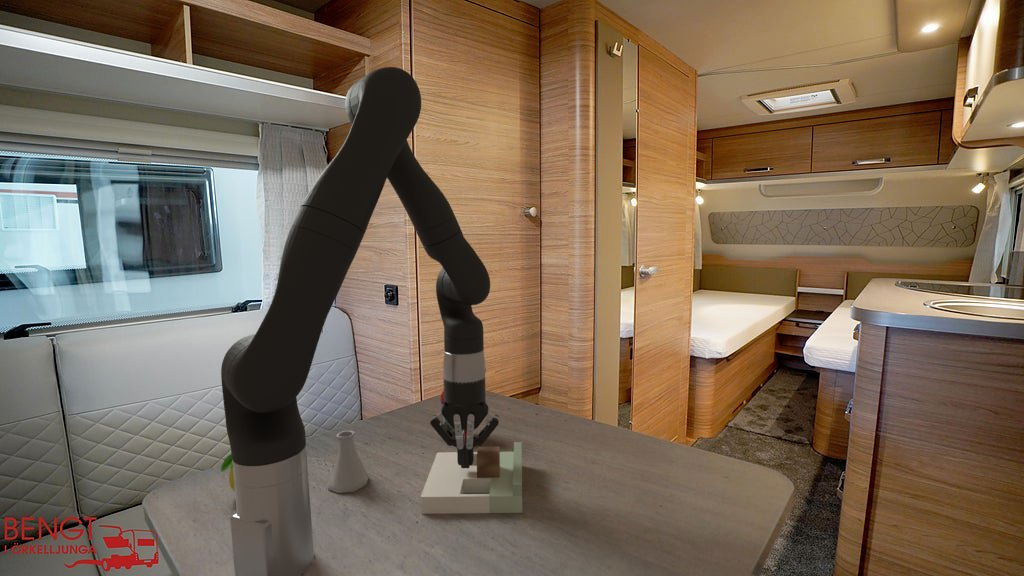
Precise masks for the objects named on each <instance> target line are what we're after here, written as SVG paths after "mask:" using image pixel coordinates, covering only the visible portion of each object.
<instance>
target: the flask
mask: <svg viewBox="0 0 1024 576" xmlns="http://www.w3.org/2000/svg"><path fill="white" fill-rule="evenodd" d="M355 435H356V431H354V430H342V431H340V432H338V433H337V434H336V440H337V441H338V450H337V456H336V460H335V464H334V468H333V469H332V473H331V477H330V480H329V484H328V487H327V490H329V491H332V492H333V493H337V494H344V493H345V494H346V493H355V492H356V491H358V490H359V489H360V490H361V489H362V488H364V487H365V486H366V485H367V484H368V482H369V478H370V477H369V474H368V472H367V471H366V469H365V466H364V465H363V462H362V461H361V459H360V456H359V454H358V452H357V449H356V445H355V440H354V439H355V438H354V437H355Z"/></svg>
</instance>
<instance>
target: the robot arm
mask: <svg viewBox="0 0 1024 576" xmlns="http://www.w3.org/2000/svg"><path fill="white" fill-rule="evenodd" d="M421 95H422V94H421V91H420V88H419V85H418V84H417V82H416V80H415V78H414V77H413V76H412V75H411V74H410V73H409V72H408V71H406V70H404V69H402V68H399V67H395V66H385V67H381V68H378V69H375V70H373V71H371V72H369V73H368V74H366V75H364V76H363V77H362V78H361V79H359V80H357V81H356V82H355V83H352V85H351V86H350V87H349V89H348V90H347V93H346V95H345V102H344V105H345V112H346V115H347V118H348V120H349V121H350V124H351V127H350V130H349V133H348V134H347V137H346V138H345V141H343V144H342V146H341V147H340V149H339V150H338V152H337V153H336V155H335V156H334V158H332V160H331V161H330V162H329V164H328V165H327V166H326V167H325V169H324V170H323V171H322V173H321V174H320V175H319V176H318V178H317V179H316V181H314V184H313V185H312V186H311V188H310V189H309V191H308V192H307V194H306V196H305V198H304V199H303V201H302V203H301V205H300V207H299V210H298V212H297V214H296V216H295V218H294V220H293V223H292V224H291V227H290V229H289V232H288V234H287V238H286V240H285V243H284V248H283V250H282V255H281V260H280V261H281V262H280V266H279V271H278V276H277V277H278V278H277V283H276V287H275V288H276V289H275V292H274V295H273V299H272V301H271V303H270V305H269V307H268V310H267V312H266V314H265V316H264V317H263V319H262V320H261V323H260V325H259V327H258V329H257V330H256V332H255V334H249V335H246V336H243V337H242V338H240V339H239V340H237V341H236V342H235V343H233V344H232V345H231V346H230V347H229V348H228V349H227V351H226V353H225V355H224V357H223V359H222V363H221V369H220V371H221V372H220V375H221V377H220V378H221V379H220V380H221V391H222V398H223V399H222V400H223V407H224V417H225V427H226V432H227V433H226V434H227V439H228V441H229V445H230V453H231V454H230V455H232V464H233V475H234V488H235V492H234V496H235V497H234V498H235V509H236V513H234V514H233V515H231V516H230V518H229V521H230V533H231V544H232V545H231V546H232V555H233V565H234V566H233V567H234V568H233V569H234V576H302V575H303V574H304V573H306V572H307V571H308V569H309V568H310V567H311V566H312V564H313V563H314V559H315V550H314V536H313V524H312V511H311V510H312V509H311V497H310V483H309V470H308V469H309V468H308V467H309V466H308V453H307V452H308V451H307V442H306V441H307V436H306V428H305V424H304V422H303V420H302V417H301V414H300V410H299V406H298V399H297V398H298V396H299V394H300V393H301V391H302V390H303V389H304V386H305V384H306V382H307V380H308V377H309V374H310V370H311V367H312V364H313V360H314V356H315V353H316V350H317V347H318V344H319V341H320V338H321V334H322V332H323V328H324V325H325V323H326V320H327V318H328V315H329V312H331V309H332V307H333V305H334V302H335V301H336V299H337V296H338V294H339V292H340V289H341V287H342V285H343V282H345V281H344V280H345V278H346V276H347V274H348V271H349V270H350V267H351V265H352V263H353V261H354V259H355V257H356V254H357V253H358V250H359V248H360V246H361V243H362V241H363V238H364V237H365V235H366V231H367V229H368V225H369V224H370V220H371V219H372V215H373V213H374V211H375V209H376V206H377V203H379V199H380V196H381V194H382V192H383V189H384V187H385V184H386V181H387V180H388V182H389V183H390V185H391V186H392V188H393V190H394V191H395V193H396V196H397V197H398V199H399V200H400V202H401V204H402V206H403V208H404V210H405V212H406V214H407V215H408V218H409V220H410V222H411V223H412V226H413V228H414V231H415V232H416V235H417V236H418V239H419V241H420V243H421V245H422V247H423V249H424V251H425V253H426V254H427V255H428V257H429V258H431V259H432V260H434V261H436V262H438V263H439V264H440V266H442V268H441V269H440V271H439V273H438V274H437V278H436V281H435V282H436V283H435V293H436V295H435V296H436V302H437V304H438V309H439V312H440V317H441V321H442V323H443V327H444V328H443V339H444V340H443V343H444V344H443V347H444V348H443V349H444V352H443V353H444V355H443V361H442V362H443V363H442V364H443V366H442V368H443V369H442V371H443V372H442V373H443V390H444V405H443V407H442V409H441V408H440V412H439V413H437V414H434V415H432V418H431V420H430V422H429V424H430V426H432V428H433V429H434V431H436V433H437V435H439V436H440V437H441V439H442V440H443V441H444V443H446V445H447V446H449V447H454V448H456V452H457V459H458V465H461V468H469V467H470V465H472V464H473V460H474V452H475V451H474V448H475V447H482V445H483V444H484V443H485V442H486V441H487V439H488V438H489V437H490V436H491V434H492V433H493V432H494V431H495V430H496V428H497V426H498V425H499V422H500V416H499V415H498V414H493V413H492V412H491V411H489V406H488V404H487V401H486V400H487V399H486V398H487V397H486V393H487V392H486V372H487V368H486V358H485V349H484V348H485V347H484V343H485V342H484V341H485V340H484V324H483V322H482V320H481V319H480V318H479V317H478V316H476V315H475V314H474V312H473V308H472V307H473V306H477V305H480V304H482V303H483V302H484V301H486V300H487V298H488V297H489V295H490V291H491V278H490V274H489V272H488V270H487V269H488V268H486V266H485V264H484V262H483V261H482V259H481V258H480V256H479V255H478V253H477V252H476V251H475V250H474V248H473V246H471V244H470V243H469V242H468V240H467V239H466V238H465V236H464V234H463V230H462V229H461V226H460V224H459V222H458V220H457V217H456V215H455V213H454V211H453V209H452V206H451V204H450V203H449V201H448V198H446V196H445V195H444V193H443V192H442V190H441V189H440V188H439V186H438V185H437V184H436V183H435V182H434V181H433V179H432V178H431V177H430V176H429V175H428V173H427V171H425V169H424V168H423V167H422V165H421V164H420V162H419V161H418V160H417V158H416V156H415V155H414V153H413V151H412V148H411V146H410V145H409V141H408V139H409V137H410V136H411V134H412V131H413V130H414V128H415V127H416V125H417V122H418V120H419V118H420V115H421V110H422V96H421ZM444 418H445V419H446V420H447V421H448V423H449V424H450V425H451V427H452V428H454V429H455V435H454V434H453V433H452V432H451V431H450V429H449V428H448V427H447V426H446V425H445V419H444ZM485 418H486V419H485ZM484 420H485V422H484V423H485V426H484V427H483V428H482V430H480V432H479V433H478V434H477V436H475V432H476V429H478V427H479V426H480V425H481V424H482V422H483V421H484ZM464 430H467V440H465V436H464Z"/></svg>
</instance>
